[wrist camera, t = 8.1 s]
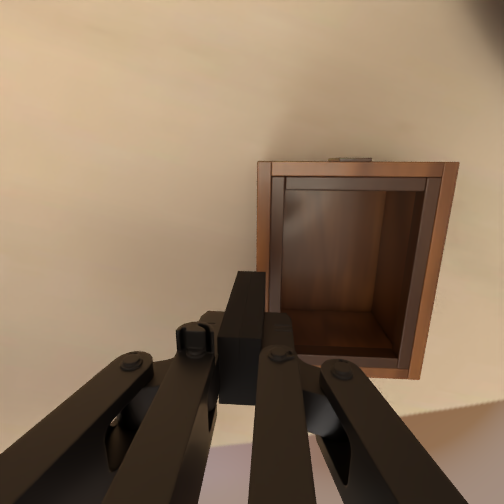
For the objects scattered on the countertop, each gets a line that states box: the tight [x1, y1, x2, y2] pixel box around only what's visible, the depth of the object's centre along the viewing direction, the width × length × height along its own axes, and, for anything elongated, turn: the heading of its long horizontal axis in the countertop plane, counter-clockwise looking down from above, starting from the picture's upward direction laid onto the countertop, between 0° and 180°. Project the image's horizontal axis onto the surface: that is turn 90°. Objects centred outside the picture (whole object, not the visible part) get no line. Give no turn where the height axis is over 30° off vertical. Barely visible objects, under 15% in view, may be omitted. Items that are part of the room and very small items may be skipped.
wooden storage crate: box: [256, 158, 459, 380], centre depth 23 cm, size 9×14×11 cm
